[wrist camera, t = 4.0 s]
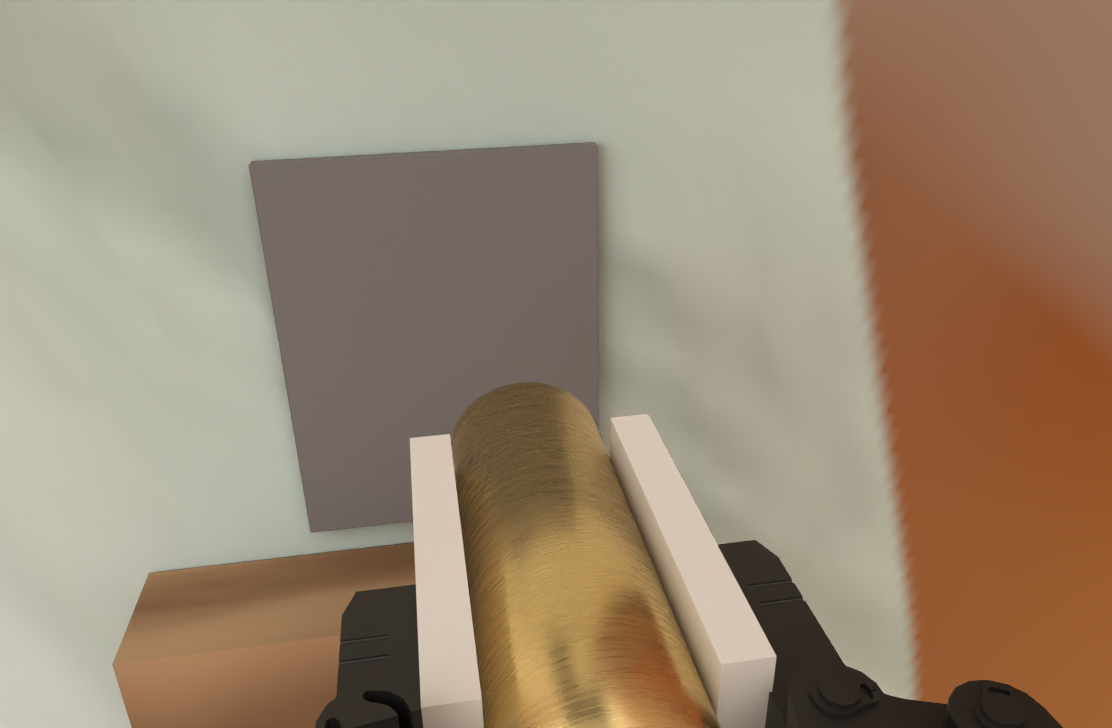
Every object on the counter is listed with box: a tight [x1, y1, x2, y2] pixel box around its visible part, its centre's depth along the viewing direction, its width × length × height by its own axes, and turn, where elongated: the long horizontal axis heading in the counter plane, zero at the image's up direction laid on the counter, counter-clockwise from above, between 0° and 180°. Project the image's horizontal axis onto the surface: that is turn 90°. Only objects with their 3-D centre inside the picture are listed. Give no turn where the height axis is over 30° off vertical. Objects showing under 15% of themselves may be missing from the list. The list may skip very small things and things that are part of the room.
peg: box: [450, 382, 721, 728], centre depth 13 cm, size 3×3×12 cm
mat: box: [249, 142, 598, 533], centre depth 23 cm, size 10×8×1 cm
